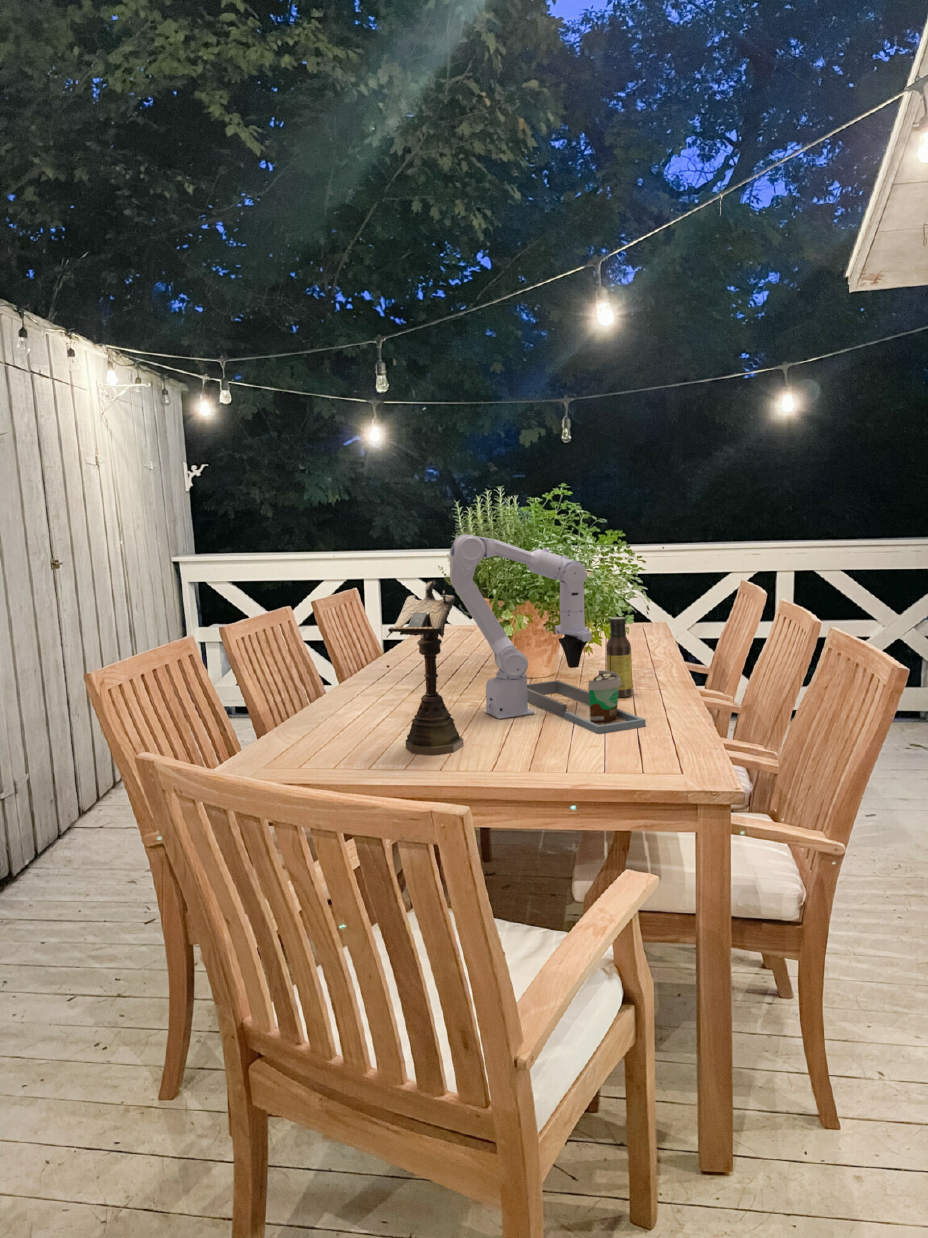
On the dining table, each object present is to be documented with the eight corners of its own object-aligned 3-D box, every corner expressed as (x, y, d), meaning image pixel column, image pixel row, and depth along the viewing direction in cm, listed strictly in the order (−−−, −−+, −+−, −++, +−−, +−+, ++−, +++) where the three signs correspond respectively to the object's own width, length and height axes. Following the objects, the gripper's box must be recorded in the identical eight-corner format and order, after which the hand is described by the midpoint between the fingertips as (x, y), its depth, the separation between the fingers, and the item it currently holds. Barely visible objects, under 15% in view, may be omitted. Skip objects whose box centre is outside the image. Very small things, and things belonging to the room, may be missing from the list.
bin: (562, 717, 191) (562, 705, 191) (517, 697, 213) (517, 685, 213) (607, 711, 196) (607, 698, 195) (558, 691, 218) (558, 680, 217)
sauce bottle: (637, 695, 210) (636, 617, 207) (619, 699, 206) (618, 620, 204) (619, 691, 215) (618, 615, 212) (601, 695, 212) (600, 617, 209)
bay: (598, 734, 177) (597, 727, 177) (563, 718, 191) (563, 712, 191) (645, 726, 181) (645, 719, 181) (608, 711, 195) (608, 705, 195)
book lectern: (446, 765, 160) (438, 584, 155) (386, 759, 165) (376, 584, 160) (478, 741, 175) (471, 576, 170) (422, 737, 180) (414, 576, 175)
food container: (616, 726, 182) (616, 682, 181) (589, 725, 184) (588, 681, 183) (626, 712, 193) (625, 670, 192) (599, 711, 196) (599, 669, 194)
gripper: (602, 612, 191) (603, 670, 193) (572, 606, 204) (573, 660, 206) (575, 615, 188) (576, 673, 190) (546, 608, 202) (548, 663, 204)
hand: (573, 667), depth 198 cm, fingers closed
